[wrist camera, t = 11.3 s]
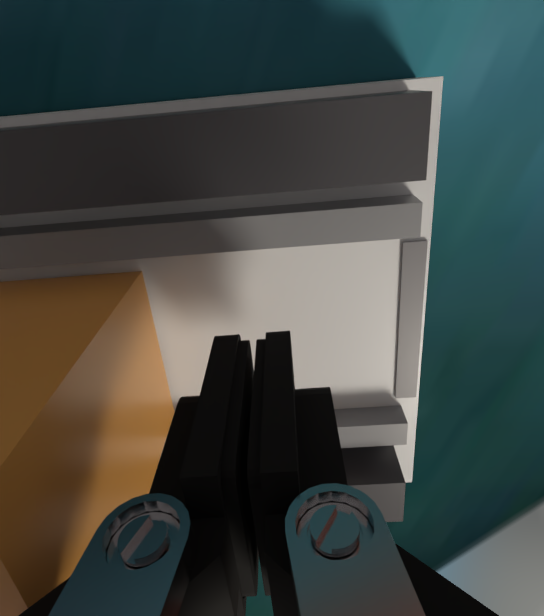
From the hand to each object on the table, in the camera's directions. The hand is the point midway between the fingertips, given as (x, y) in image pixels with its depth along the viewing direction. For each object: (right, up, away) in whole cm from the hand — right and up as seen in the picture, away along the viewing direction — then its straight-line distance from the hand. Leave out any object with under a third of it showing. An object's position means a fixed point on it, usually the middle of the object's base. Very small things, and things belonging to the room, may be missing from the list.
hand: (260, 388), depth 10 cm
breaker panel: (-3, +2, +4) cm, 5 cm away
